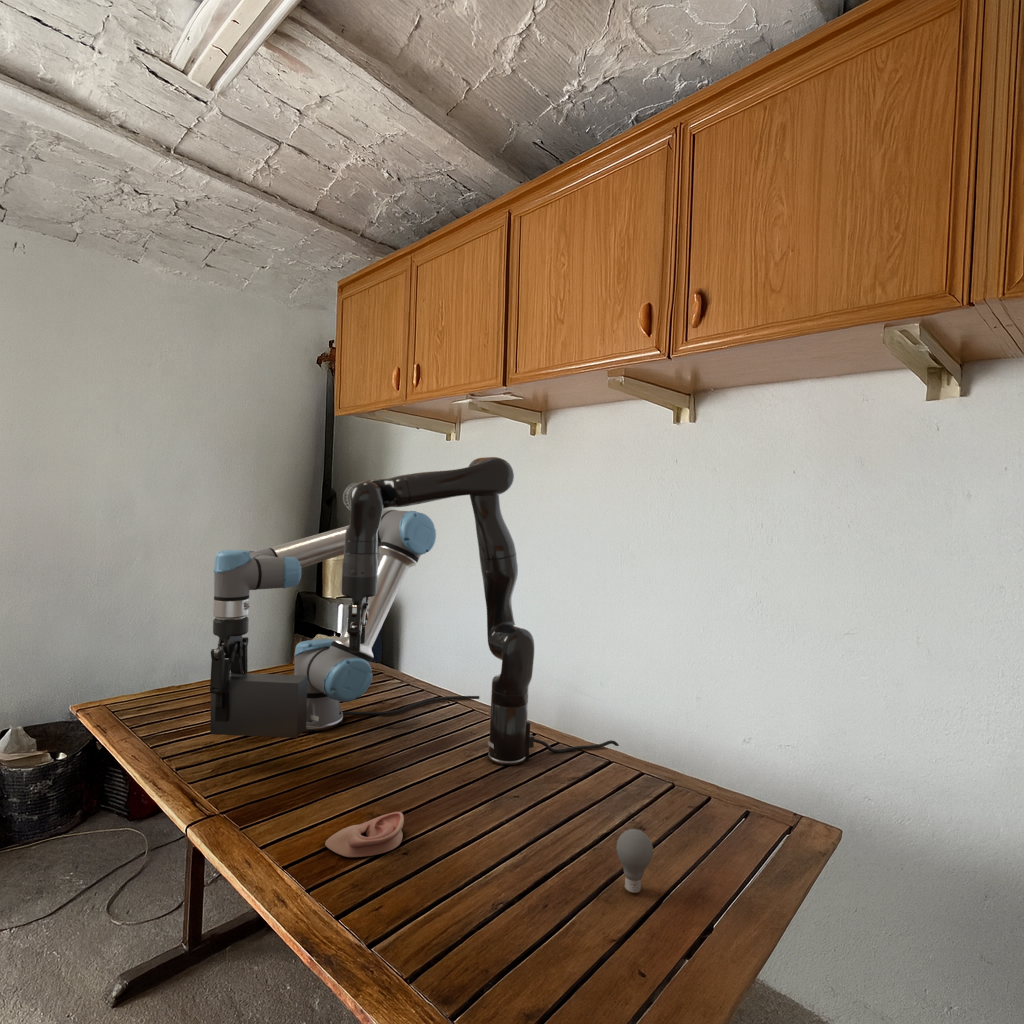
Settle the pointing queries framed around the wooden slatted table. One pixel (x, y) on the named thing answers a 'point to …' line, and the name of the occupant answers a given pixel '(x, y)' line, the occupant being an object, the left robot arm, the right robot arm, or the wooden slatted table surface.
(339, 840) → the anatomical model
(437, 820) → the wooden slatted table surface
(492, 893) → the wooden slatted table surface
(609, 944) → the wooden slatted table surface
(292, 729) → the box
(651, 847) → the light bulb
